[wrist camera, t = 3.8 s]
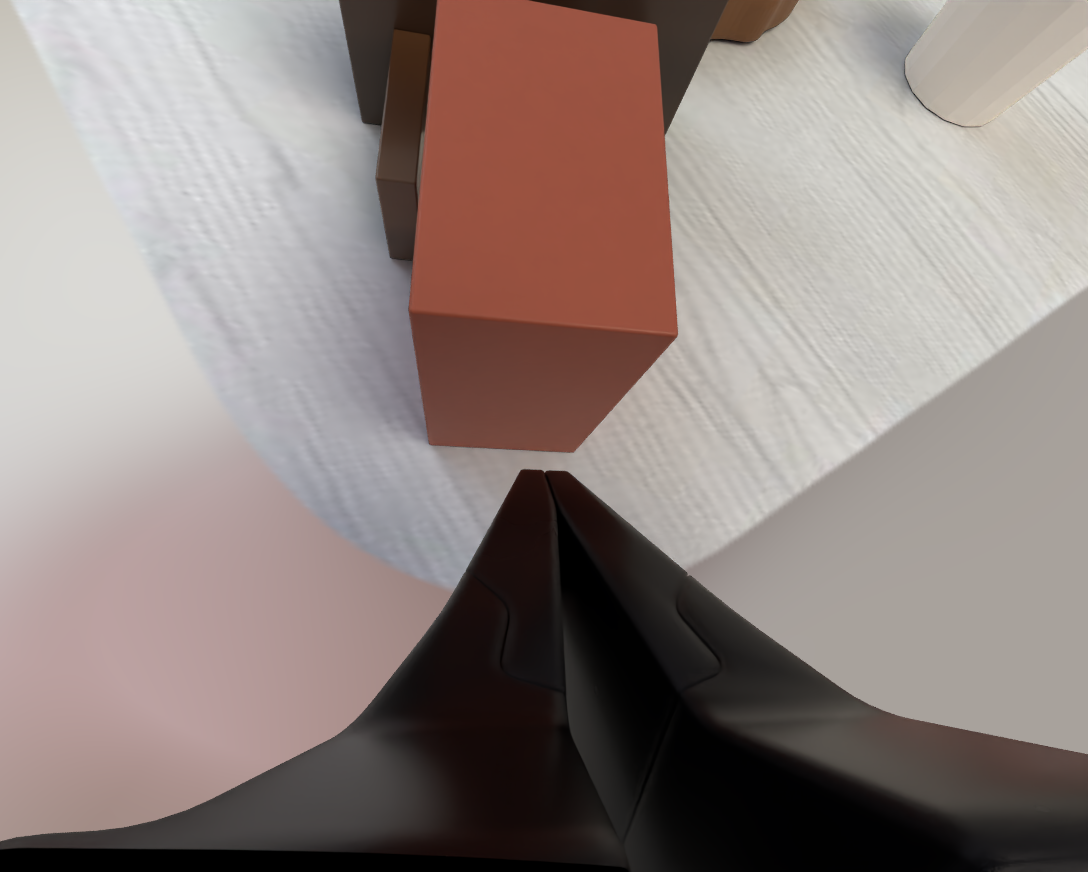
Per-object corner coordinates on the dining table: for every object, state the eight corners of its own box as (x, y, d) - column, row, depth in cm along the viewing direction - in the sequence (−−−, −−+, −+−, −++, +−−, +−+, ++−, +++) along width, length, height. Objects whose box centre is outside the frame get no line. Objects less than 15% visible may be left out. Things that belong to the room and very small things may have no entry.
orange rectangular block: (574, 453, 18) (679, 336, 10) (428, 445, 18) (408, 311, 9) (572, 255, 21) (658, 22, 12) (443, 241, 20) (438, -19, 11)
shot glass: (1033, 125, 28) (1215, -21, 21) (938, 147, 26) (1104, -4, 19) (964, 26, 29) (1116, -139, 22) (870, 41, 27) (1004, -133, 21)
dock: (659, 287, 21) (801, 80, 12) (344, 253, 19) (257, -17, 11) (647, 92, 24) (757, -186, 15) (372, 46, 22) (321, -300, 13)
